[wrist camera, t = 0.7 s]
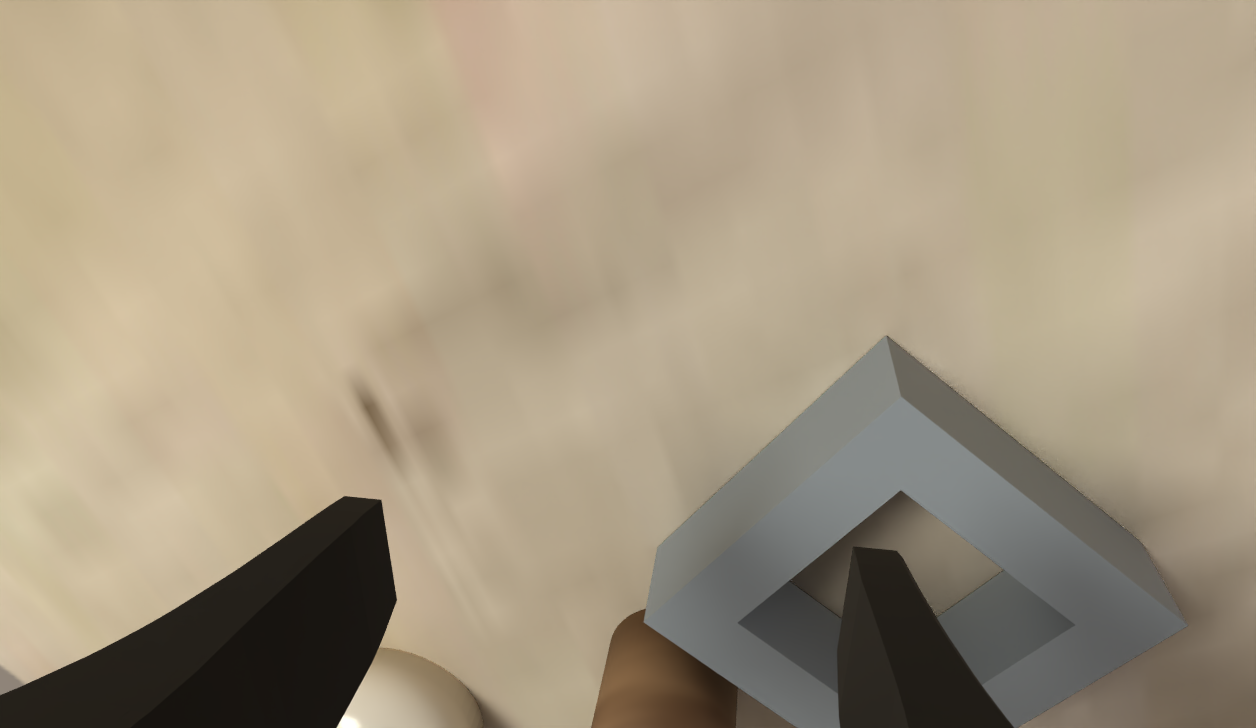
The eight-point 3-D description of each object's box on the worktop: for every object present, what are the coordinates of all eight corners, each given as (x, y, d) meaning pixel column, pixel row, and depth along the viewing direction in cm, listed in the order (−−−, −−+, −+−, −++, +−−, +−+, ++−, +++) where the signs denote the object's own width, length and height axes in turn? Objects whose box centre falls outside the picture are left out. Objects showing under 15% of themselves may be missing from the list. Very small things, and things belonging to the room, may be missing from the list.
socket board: (1141, 542, 23) (1188, 625, 20) (887, 710, 27) (899, 798, 24) (886, 335, 21) (901, 396, 19) (657, 547, 25) (643, 622, 23)
